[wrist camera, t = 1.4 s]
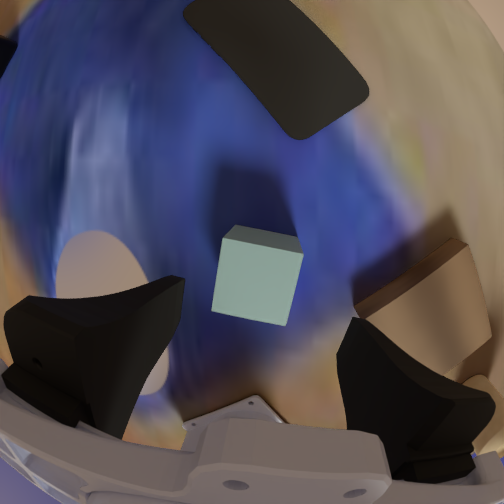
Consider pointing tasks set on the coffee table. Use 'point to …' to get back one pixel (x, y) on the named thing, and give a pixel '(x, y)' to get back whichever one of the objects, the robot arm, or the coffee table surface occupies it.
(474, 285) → the walnut base
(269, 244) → the painted block
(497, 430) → the candle
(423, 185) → the coffee table surface
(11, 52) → the wine bottle
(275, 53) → the phone
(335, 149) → the coffee table surface
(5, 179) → the coffee table surface
